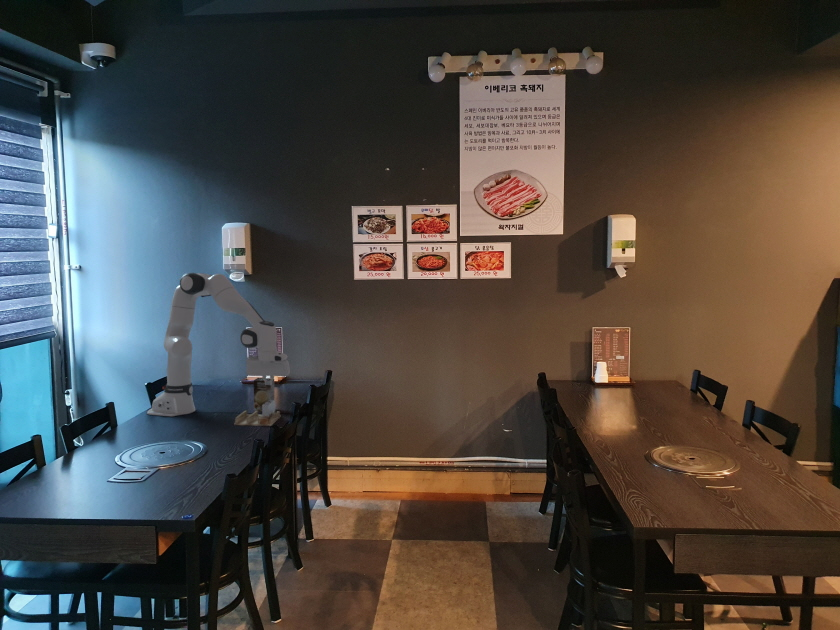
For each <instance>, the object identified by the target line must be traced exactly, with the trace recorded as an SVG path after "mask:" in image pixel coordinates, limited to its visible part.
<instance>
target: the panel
mask: <svg viewBox="0 0 840 630" xmlns="http://www.w3.org/2000/svg"><path fill="white" fill-rule="evenodd" d="M275 413H276V399H275V400H268V401H267V402H266V403H264V404H263V405H262V413H261V415H262V418H265V419H268V420H269V419H270V418H271V417H272V416H273V415H274V414H275Z"/></svg>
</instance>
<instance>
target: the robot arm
mask: <svg viewBox="0 0 840 630" xmlns="http://www.w3.org/2000/svg"><path fill="white" fill-rule="evenodd" d="M211 296H212V298H213V300H214V302H215V303H216V305H217V306H218V307H219V308H220V309H221V310H222V311H224V312H227V313H232V314H236V315H239V316H242V317H244V318H245V320H247V321H248V323H249V324H250V325H251V326H252V327H248V328H245V329H243V330H242V331H241V334H240V343H241V344H242V346H243V347H244V348H246V349H255V348H257V355H249V356H247V357H246V360H245V361H246V362H245V363H246V368H245V369H246V371H245V372H246V373H245V374H246V375H247V376H248V377H249V376H251V377H253V376H254V377H255V376H256V377H260V376H261V378H263V380H264V381H265V385H272V380H273V379H274V380H275V377H288V376H289V375H290V374H291V368H290V362H289V360H288V354H286V353H283V352H281V351H278V346H277V342H278V334H277V327H276V325H275V323H273V322H272V321H267V320H264V318H263V317H262V316H261V315H260V313H259V312H258V310H257V309H255V307H254V306H253V305H252V304H251V303H250V302H249V301H248V300H246V299H245V298H243V296H242V295H241V294H240V293H239V292H238V290H237V289H236V288H235V286H234V285H233V284H232V282H231V281H230V280H229V279H228V278H227V277H226V275H224V274H222V273H215V274H209V273H208V274H207V273H204V272H203V273H202V272H197V273H196V272H187V273H184V274H183V275H182V276H181V278H180V279H179V285H177V287H176V288H175V290H174V291H173V296H172V299H171V305H170V312H169V319H168V323H167V324H168V325H167V327H166V331H165V336H164V341H163V347H164V350H165V351H166V352H167V368H166V380H167V381H166V382H167V383H166V384H165V385H163V386H162V390H164V391H163V392H162V393H161V394H159V395H158V396H157V397H155V399H153V401H152V405H151V408H150V409H149V410H147V413H146V414H147V415H151V416H152V415H153V416H164V417H175V416H182V415H183V416H184V415H188V414H192V413H194V412H196V410H197V408H196V407H195V403H194V399H193V390H194V389H193V383H192V370H191V369H192V368H191V366H192V359H193V344H192V342H191V340H190V339H189V336H190V333H191V330H192V326H193V325H194V319H195V310H196V303H197V299H198V298H199V297H201V298H206V297H211ZM268 377H269V378H271V380H270V381H267V379H266V378H268Z"/></svg>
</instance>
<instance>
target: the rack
mask: <svg viewBox="0 0 840 630" xmlns="http://www.w3.org/2000/svg"><path fill="white" fill-rule="evenodd" d="M281 417H282V416H281V412H280V410H279V411H278V410H277V411H275V414H274V415H273V416H272V417H271V418H270V419H269V420H268V419H265V418H262V414H259V411H254V412H253V413H251V414H248V410H244V411H242V412H241V413H240V414H238V415H237V416H236V417H235V418H234V423H233V424H234V426H257V427H259V426H260V427H261V426H263V427H271V426H273V424H274V423H276V422H277V421H278V420H279V419H280V418H281Z"/></svg>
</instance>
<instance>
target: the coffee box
mask: <svg viewBox="0 0 840 630" xmlns="http://www.w3.org/2000/svg"><path fill="white" fill-rule="evenodd" d="M266 379H267V381H270V380H271V378H270V377H266ZM275 398H276V397H275V378H274V379H273V380H272V385H265V381H264V380H263V378H262V377H257V378H255V379H254V380H253V411H254V412H255V411H258V413H259V412H260V413H261V412H262V405H263V404H264V403H266V402H267V401H268V400H275V401H276V399H275Z"/></svg>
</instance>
